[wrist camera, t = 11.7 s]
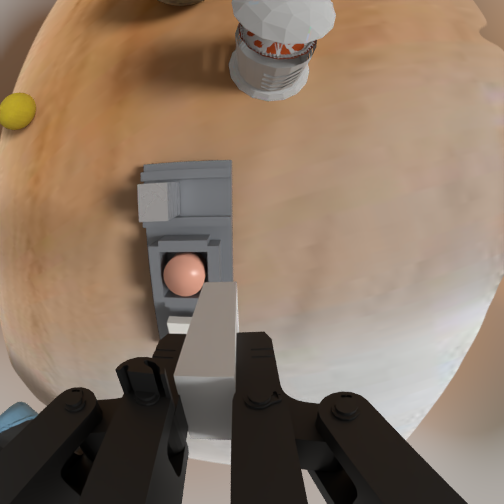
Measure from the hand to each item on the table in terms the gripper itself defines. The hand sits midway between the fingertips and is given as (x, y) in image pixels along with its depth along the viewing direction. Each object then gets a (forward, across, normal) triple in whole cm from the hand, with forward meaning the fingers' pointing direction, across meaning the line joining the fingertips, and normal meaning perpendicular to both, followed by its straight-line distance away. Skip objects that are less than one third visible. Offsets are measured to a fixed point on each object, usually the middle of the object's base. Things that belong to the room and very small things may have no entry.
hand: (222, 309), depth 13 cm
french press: (+20, -5, -21) cm, 30 cm away
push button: (+18, +5, +4) cm, 19 cm away
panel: (+21, +5, +4) cm, 22 cm away
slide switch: (+18, +7, -4) cm, 20 cm away
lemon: (+21, +31, -20) cm, 42 cm away
